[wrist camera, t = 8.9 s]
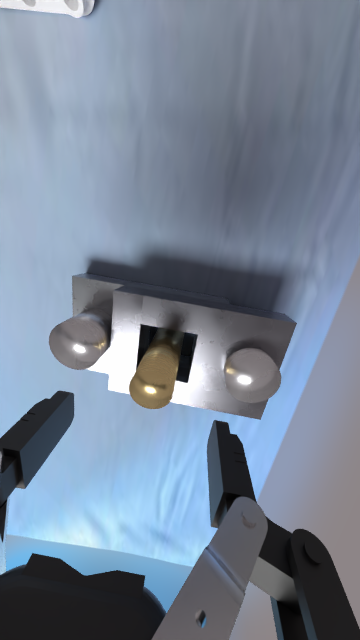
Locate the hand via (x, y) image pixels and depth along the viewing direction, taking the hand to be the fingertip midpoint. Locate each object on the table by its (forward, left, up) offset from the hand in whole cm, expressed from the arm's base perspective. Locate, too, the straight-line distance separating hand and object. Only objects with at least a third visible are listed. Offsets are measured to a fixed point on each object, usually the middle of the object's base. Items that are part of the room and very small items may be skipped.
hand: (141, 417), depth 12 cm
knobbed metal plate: (0, 0, -12) cm, 12 cm away
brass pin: (0, 0, -12) cm, 12 cm away
